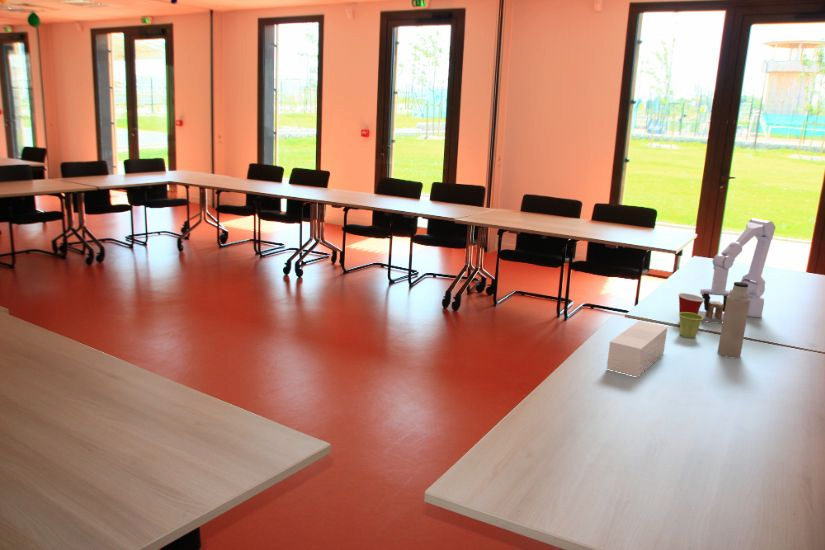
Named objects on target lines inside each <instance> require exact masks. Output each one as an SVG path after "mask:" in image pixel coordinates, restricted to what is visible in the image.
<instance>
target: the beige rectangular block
mask: <svg viewBox="0 0 825 550" xmlns="http://www.w3.org/2000/svg"><path fill="white" fill-rule="evenodd" d="M667 332H668V326H664V325H659V324H654V323H650V322H646V321H641V320H638V321H637V322H635V323H634V324H632V326H630V327H628V328H627V329H626V330H624V331H623V332H621V333H620V334H618V335H617V336H616V337H615V338H613V339H612V340H611V341H609V348H608V355H607V361H606V362H607V363H606V369H610V370H613V371H617V372H621V373H625V374H628V375H632V376H636V377H638V376H639V375H640V374H641V373H642V372H643V371H644V370H645V369H647V368H648V367H649V366H650V365H651V364H652V363H653V362H654V363H655V362H657V361H658V359H660V358H661V357H662V356H663V355H664V354H665V348H666V339H667ZM663 353H664V354H663ZM662 354H663V355H662ZM661 355H662V356H661ZM660 356H661V357H660ZM659 357H660V358H659ZM654 363H653V364H654ZM653 364H652V365H653ZM652 365H651V366H652ZM651 366H650V367H651ZM650 367H649V368H650ZM649 368H648V369H649ZM648 369H647V370H648ZM645 371H646V370H645ZM645 371H644V372H645ZM644 372H643V373H644ZM643 373H642V374H643ZM642 374H641V375H642ZM641 375H640V376H641ZM640 376H639V377H640ZM639 377H638V378H639Z"/></svg>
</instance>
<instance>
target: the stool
mask: <svg viewBox="0 0 825 550" xmlns="http://www.w3.org/2000/svg"><path fill="white" fill-rule="evenodd" d="M723 306H724V305H723V302H721V301H717V300H714V301H713V300H710V301H709V305H708V311H706V310H705V312H706V314H705V315H706V316H709V317H708V318H712V316H713V313H715V315H714V316H718V319H721V318H722V313H724V312H723ZM714 309H715V311H714Z"/></svg>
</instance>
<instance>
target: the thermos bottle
mask: <svg viewBox="0 0 825 550" xmlns="http://www.w3.org/2000/svg"><path fill="white" fill-rule="evenodd" d="M747 287H748V284H746V283H742V282H741V281H734V282H733V287H732V289H730V290H729V291H730V293H729V295H728V296H727V299H726V306H725V311H724V312H723V314H724V317H723V323H722V324H721V328H720V329H721V330H720V336H719V340H718V348H717V353H718V354H719V355H720V356H722V355H723V356H722V357H725V356H727V357H726V358H730V357H738V358H740V357H741V354H742V349H743V344H744V336H745V332H746V328H747V327H746V326H747V322H748V321H747V319H748V317H749V316H748V310H749V304H750V299H749V293H748V292H747V289H748V288H747Z"/></svg>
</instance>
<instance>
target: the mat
mask: <svg viewBox="0 0 825 550" xmlns="http://www.w3.org/2000/svg"><path fill="white" fill-rule="evenodd" d="M705 314H706V311H703V310H699V312H698V315H701V316H702V317H703V319H702V321H708V322H707V323H711V322H718V323H717V324H720V323H722V322H723V317H724V312H722V318H721V319H718V316H714V315H715V312H713V316H712V318H708V317H709V316H706V315H705ZM702 321H701V322H702Z"/></svg>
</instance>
